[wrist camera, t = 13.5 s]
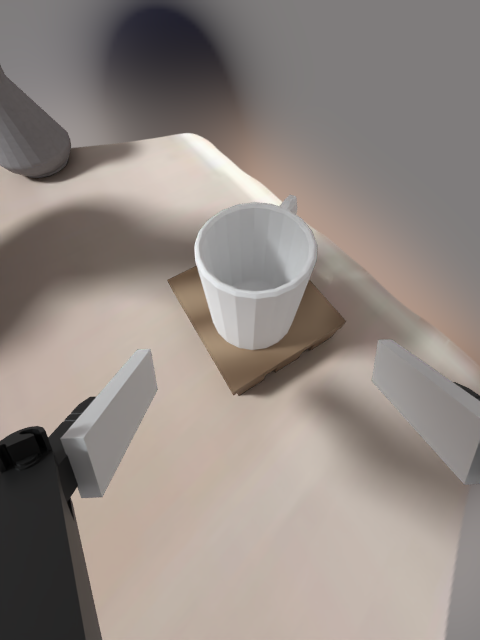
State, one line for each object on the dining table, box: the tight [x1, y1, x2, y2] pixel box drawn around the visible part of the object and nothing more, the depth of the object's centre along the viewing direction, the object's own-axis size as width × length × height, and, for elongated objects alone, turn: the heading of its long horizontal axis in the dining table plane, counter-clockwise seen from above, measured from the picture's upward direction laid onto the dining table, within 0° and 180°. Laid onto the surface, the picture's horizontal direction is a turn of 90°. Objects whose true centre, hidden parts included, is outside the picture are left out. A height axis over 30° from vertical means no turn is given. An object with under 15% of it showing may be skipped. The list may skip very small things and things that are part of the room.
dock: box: [167, 266, 346, 395], centre depth 28 cm, size 14×13×4 cm
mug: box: [194, 195, 317, 350], centre depth 22 cm, size 8×12×10 cm, turn 152°
